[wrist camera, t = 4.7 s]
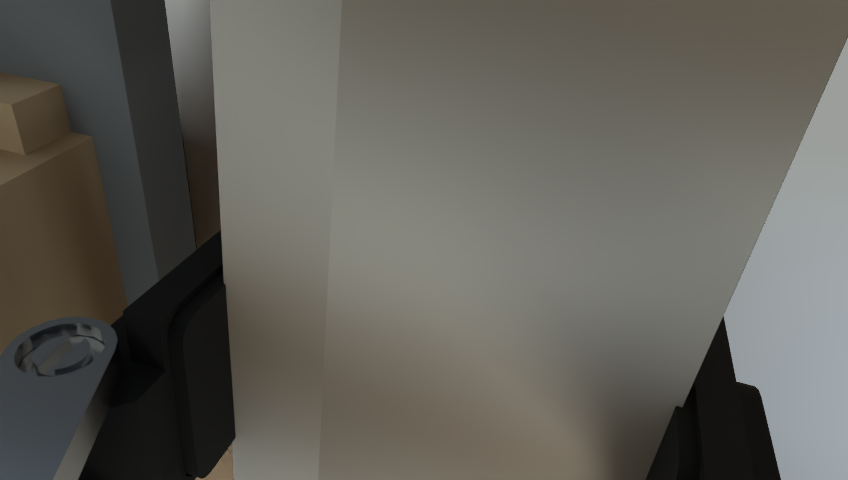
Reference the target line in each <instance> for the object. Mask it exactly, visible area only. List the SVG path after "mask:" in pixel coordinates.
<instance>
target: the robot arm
mask: <svg viewBox="0 0 848 480" xmlns="http://www.w3.org/2000/svg"><path fill="white" fill-rule="evenodd" d="M235 438H236V433H235V418H234V403H233V388H232V373H231V358H230V343H229V328H228V313H227V298H226V284H224V277H223V258H222V238H221V230H220V231H219V232H218V233H216V234H215V235H214V236H213V237H212V238H210V239H209V240H208V241H207V242H206V243H204V244H203V245H202V246H201V247H199V248H198V249H197V250H196V251H195V252H193V253H192V254H191V255H190V256H189V257H187V258H186V259H185V260H184V261H183V262H181V263H180V264H179V265H178V266H176V267H175V268H174V269H173V270H172V271H170V272H169V273H168V274H167V275H166V276H164V277H163V278H162V279H161V280H160V281H158V282H157V283H156V284H155V285H153V286H152V287H151V288H150V289H149V290H147V291H146V292H145V293H144V294H143V295H141V296H140V297H139V298H138V299H137V300H135V301H134V302H133V303H132V304H130V305H129V306H128V307H127V308H126V309H124V310H123V315H122V316H121V317H120V318H119V319H117V320H116V321H115V322H114V323H113V324H111V325H109V324H107V323H106V322H103V321H100V320H98V319H95V318H88V317H66V318H60V319H55V320H51V321H47V322H44V323H41V324H39V325H37V326H34V327H32V328H29V329H28V330H26V331H25V332H23V333H22V334H20V335H18V336H17V337H15V338H14V339H13V341H12V342H11V343H10V344H9V345H8V346H7V347H6V348H5V349H4V351H3V352H2V354H1V355H0V480H195V479H196V477H199V478H205V477H206V476H207V475H208V474H209V473H210V472H211V471H212V469H213V468H214V467H215V465H216V464H217V462H218V461H219V460H220V458H221V457H222V456H223V454H224V453H225V451H226V450H227V449H228V447H229V446H230V445H231V443H232V442H233V441H234V439H235ZM645 480H781V478H780V474H779V470H778V466H777V461H776V458H775V453H774V449H773V445H772V440H771V436H770V432H769V428H768V424H767V420H766V415H765V411H764V407H763V403H762V398H761V395H760V393H759V390H758V389H757V388H756V387H754V386H751V385H747V384H743V383H740V382H736V378H735V373H734V368H733V363H732V357H731V352H730V347H729V342H728V337H727V332H726V327H725V322H724V316H723V318H722V320H721V322H720V324H719V326H718V329H717V331H716V333H715V335H714V338H713V340H712V342H711V344H710V347H709V349H708V351H707V353H706V356H705V358H704V360H703V362H702V364H701V367H700V369H699V371H698V373H697V376H696V378H695V380H694V382H693V385H692V387H691V389H690V391H689V394H688V396H687V398H686V400H685V402H684V405H683V407H679V406H676V407H675V410H674V412H673V414H672V417H671V419H670V422H669V424H668V426H667V429H666V431H665V434H664V436H663V438H662V441H661V443H660V446H659V448H658V451H657V453H656V455H655V458H654V460H653V463H652V465H651V467H650V470H649V472H648V475H647V477H646V479H645Z"/></svg>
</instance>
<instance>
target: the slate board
mask: <svg viewBox="0 0 848 480" xmlns="http://www.w3.org/2000/svg"><path fill="white" fill-rule="evenodd" d="M0 72H3V73H8V74H13V75H18V76H22V77H27V78H32V79H37V80H42V81H46V82H51V83H56V84H61V88H62V93H63V97H64V101H65V106H66V110H67V115H68V119H69V123H70V128H71V132H75V133H79V134H84V135H88V136H92V137H93V141H94V146H95V151H96V156H97V160H98V165H99V170H100V175H101V179H102V184H103V189H104V194H105V198H106V203H107V208H108V213H109V217H110V222H111V227H112V232H113V236H114V241H115V246H116V251H117V255H118V260H119V265H120V270H121V274H122V279H123V284H124V289H125V293H126V298H127V303H128V306H129V305H130V304H132V303H133V302H134V301H135V300H137V299H138V298H139V297H140V296H141V295H143V294H144V293H145V292H146V291H147V290H149V289H150V288H151V287H152V286H153V285H155V284H156V283H157V282H158V281H160V280H161V279H162V278H163V277H164V276H166V275H167V274H168V273H169V272H170V271H172V270H173V269H174V268H175V267H176V266H178V265H179V264H180V263H181V262H183V261H184V260H185V259H186V258H187V257H189V256H190V255H191V254H192V253H193V252H195V251H196V243H195V235H194V227H193V220H192V212H191V204H190V196H189V188H188V181H187V173H186V165H185V157H184V149H183V141H182V134H181V126H180V118H179V110H178V102H177V95H176V87H175V79H174V71H173V63H172V56H171V48H170V40H169V32H168V24H167V16H166V9H165V1H164V0H0Z"/></svg>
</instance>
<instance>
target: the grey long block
mask: <svg viewBox="0 0 848 480" xmlns="http://www.w3.org/2000/svg"><path fill="white" fill-rule="evenodd" d="M209 5H210V24H211V44H212V63H213V83H214V102H215V121H216V141H217V160H218V180H219V199H220V219H221V238H222V258H223V277H224V284H226V298H227V313H228V328H229V343H230V358H231V373H232V388H233V403H234V418H235V433H236V438H235V439H234V441H233V442H232V452H233V472H234V480H645V479H646V477H647V475H648V472H649V470H650V467H651V465H652V463H653V460H654V458H655V455H656V453H657V451H658V448H659V446H660V443H661V441H662V438H663V436H664V434H665V431H666V429H667V426H668V424H669V422H670V419H671V417H672V414H673V412H674V410H675V407H676V406H679V407H683V405H684V402H685V400H686V398H687V396H688V394H689V391H690V389H691V387H692V385H693V382H694V380H695V378H696V376H697V373H698V371H699V369H700V367H701V364H702V362H703V360H704V358H705V356H706V353H707V351H708V349H709V347H710V344H711V342H712V340H713V338H714V335H715V333H716V331H717V329H718V326H719V324H720V322H721V320H722V318H723V315H724V313H725V311H726V309H727V306H728V304H729V302H730V300H731V297H732V295H733V293H734V291H735V288H736V286H737V284H738V282H739V279H740V277H741V275H742V273H743V271H744V268H745V266H746V263H747V262H748V259H749V257H750V255H751V253H752V250H753V248H754V246H755V244H756V241H757V239H758V237H759V235H760V232H761V230H762V228H763V226H764V224H765V221H766V219H767V217H768V215H769V212H770V210H771V208H772V206H773V203H774V201H775V199H776V197H777V195H778V192H779V190H780V188H781V186H782V183H783V181H784V179H785V177H786V174H787V172H788V170H789V167H790V165H791V163H792V161H793V159H794V157H795V154H796V152H797V150H798V148H799V145H800V143H801V141H802V139H803V136H804V134H805V132H806V130H807V127H808V125H809V123H810V121H811V119H812V116H813V114H814V112H815V110H816V107H817V105H818V103H819V101H820V98H821V96H822V94H823V92H824V89H825V87H826V85H827V82H828V81H829V78H830V76H831V74H832V72H833V69H834V67H835V65H836V63H837V60H838V58H839V56H840V53H841V51H842V49H843V47H844V45H845V43H846V40H847V38H848V0H209Z"/></svg>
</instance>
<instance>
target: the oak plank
mask: <svg viewBox="0 0 848 480" xmlns="http://www.w3.org/2000/svg"><path fill="white" fill-rule="evenodd" d="M127 307H128V303H127V298H126V293H125V289H124V284H123V279H122V274H121V270H120V265H119V260H118V255H117V251H116V246H115V241H114V236H113V232H112V227H111V222H110V217H109V213H108V208H107V203H106V198H105V194H104V189H103V184H102V179H101V175H100V170H99V165H98V160H97V156H96V151H95V146H94V141H93V137H92V136H88V135H84V134H79V133H75V132H71V128H70V123H69V119H68V115H67V110H66V106H65V101H64V97H63V93H62V88H61V84H56V83H51V82H46V81H42V80H37V79H32V78H27V77H22V76H18V75H13V74H8V73H3V72H0V355H1V354H2V352H3V351H4V349H5V348H6V347H7V346H8V345H9V344H10V343H11V342H12V341H13V339H14V338H15V337H17V336H18V335H20V334H22V333H23V332H25V331H26V330H28V329H29V328H32V327H34V326H37V325H39V324H41V323H44V322H47V321H51V320H55V319H60V318H66V317H88V318H95V319H98V320H100V321H103V322H106V323H107V324H109V325H111V324H113V323H114V322H115V321H116V320H117V319H119V318H120V317H121V316H122V315H123V310H124V309H126V308H127Z"/></svg>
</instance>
